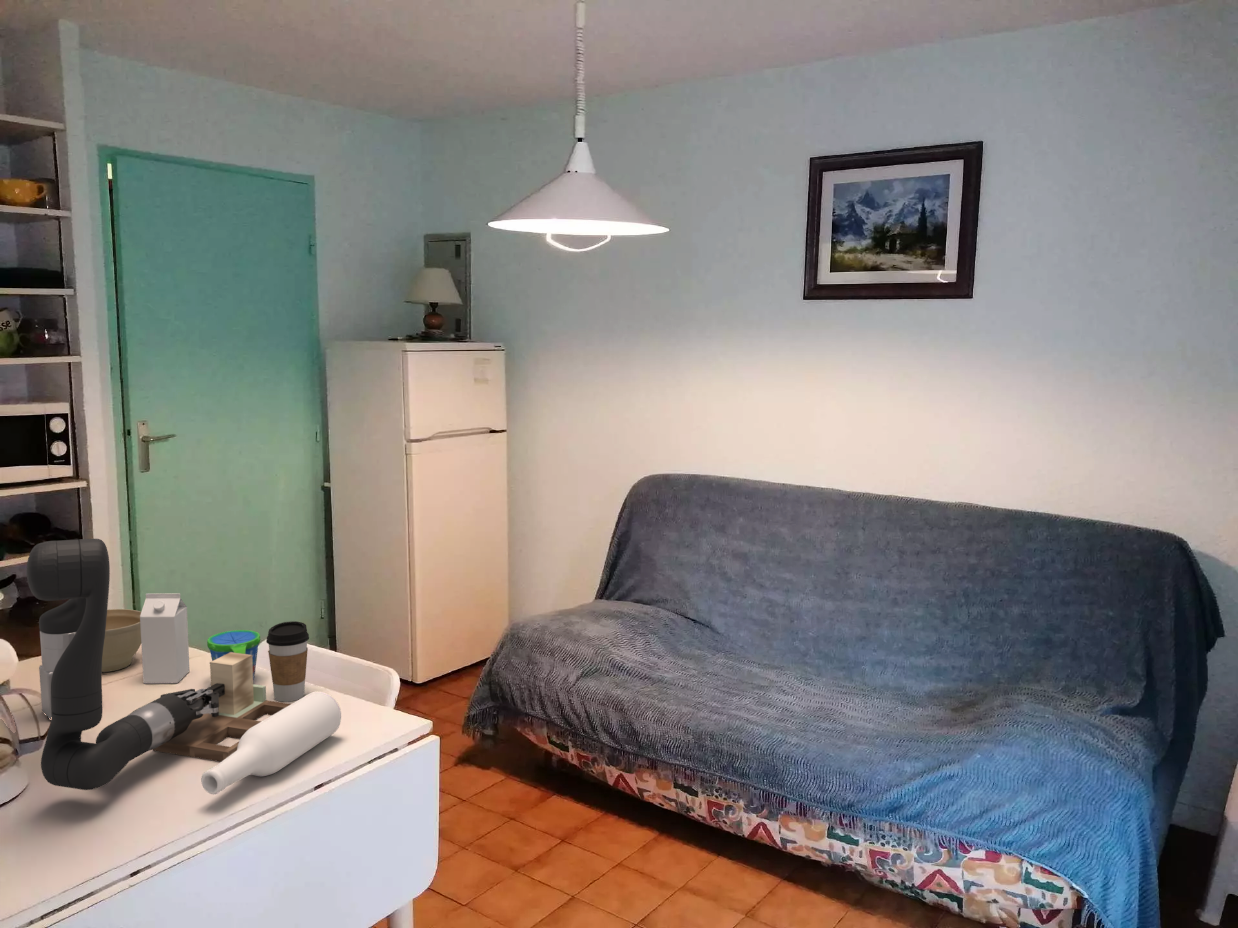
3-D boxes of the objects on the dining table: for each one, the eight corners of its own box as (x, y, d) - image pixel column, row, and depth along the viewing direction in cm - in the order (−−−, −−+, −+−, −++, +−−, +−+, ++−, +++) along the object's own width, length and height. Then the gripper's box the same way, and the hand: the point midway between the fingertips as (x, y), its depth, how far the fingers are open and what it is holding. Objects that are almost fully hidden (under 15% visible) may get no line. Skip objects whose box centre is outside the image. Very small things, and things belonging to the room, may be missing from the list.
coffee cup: (317, 689, 199) (315, 621, 197) (299, 705, 191) (298, 634, 189) (279, 687, 200) (277, 619, 198) (260, 702, 192) (258, 632, 190)
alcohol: (301, 688, 178) (184, 754, 150) (341, 690, 176) (229, 758, 147) (306, 732, 179) (191, 807, 151) (345, 735, 177) (236, 811, 148)
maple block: (234, 714, 181) (232, 665, 179) (212, 711, 182) (210, 662, 181) (253, 703, 187) (252, 654, 185) (232, 699, 188) (230, 652, 186)
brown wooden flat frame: (228, 762, 165) (227, 752, 165) (152, 750, 170) (152, 739, 169) (301, 714, 186) (301, 705, 186) (232, 704, 191) (232, 695, 190)
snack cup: (207, 673, 207) (205, 628, 206) (258, 666, 212) (256, 623, 210) (210, 698, 193) (208, 651, 192) (265, 691, 198) (263, 645, 196)
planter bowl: (91, 684, 199) (88, 635, 198) (52, 668, 208) (49, 621, 206) (163, 663, 213) (160, 617, 211) (123, 648, 221) (121, 604, 220)
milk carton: (156, 672, 207) (152, 588, 204) (189, 671, 208) (186, 588, 205) (143, 684, 200) (138, 598, 197) (177, 683, 201) (173, 598, 198)
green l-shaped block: (237, 727, 180) (236, 702, 179) (202, 721, 182) (201, 697, 181) (266, 709, 189) (265, 685, 188) (232, 704, 191) (231, 681, 190)
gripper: (186, 708, 162) (250, 673, 179) (123, 698, 165) (191, 665, 182) (188, 749, 163) (251, 710, 180) (125, 738, 167) (193, 702, 183)
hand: (221, 688), depth 181 cm, fingers closed
